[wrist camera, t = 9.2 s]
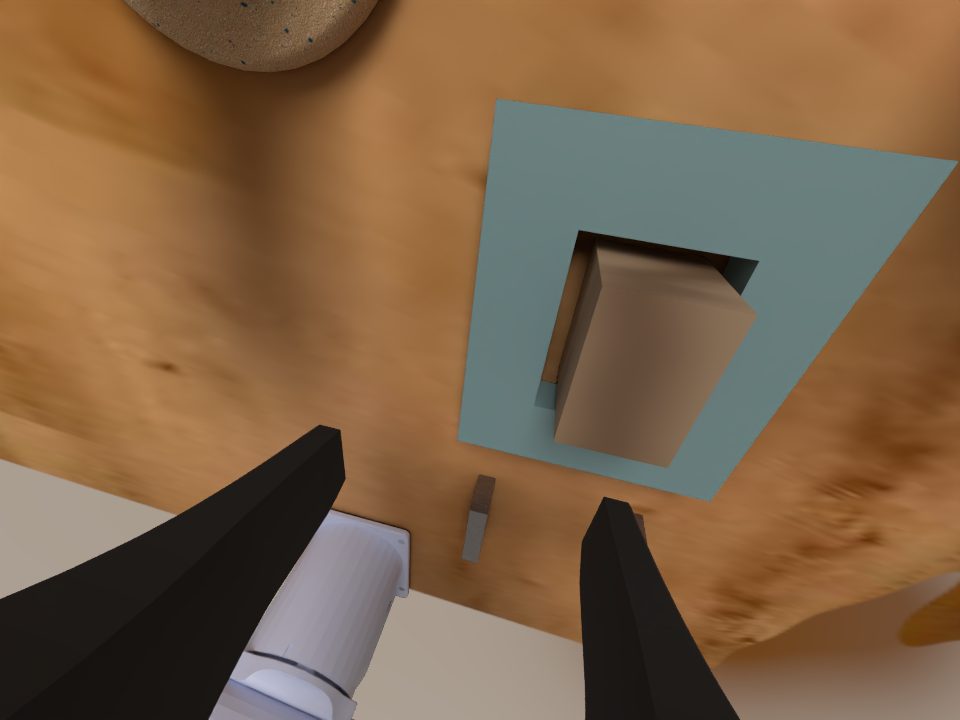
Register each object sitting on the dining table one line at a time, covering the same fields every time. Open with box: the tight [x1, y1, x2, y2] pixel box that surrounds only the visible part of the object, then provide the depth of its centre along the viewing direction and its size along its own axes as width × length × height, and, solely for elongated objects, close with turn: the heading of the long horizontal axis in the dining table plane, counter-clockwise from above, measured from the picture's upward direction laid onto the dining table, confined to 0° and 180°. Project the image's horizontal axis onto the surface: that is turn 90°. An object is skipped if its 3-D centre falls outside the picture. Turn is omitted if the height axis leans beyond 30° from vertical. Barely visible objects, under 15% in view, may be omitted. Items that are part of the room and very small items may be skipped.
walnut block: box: [553, 238, 757, 468], centre depth 14 cm, size 4×6×5 cm, turn 173°
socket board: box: [458, 99, 959, 502], centre depth 15 cm, size 14×12×2 cm
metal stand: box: [462, 475, 647, 563], centre depth 23 cm, size 5×10×2 cm, turn 83°
